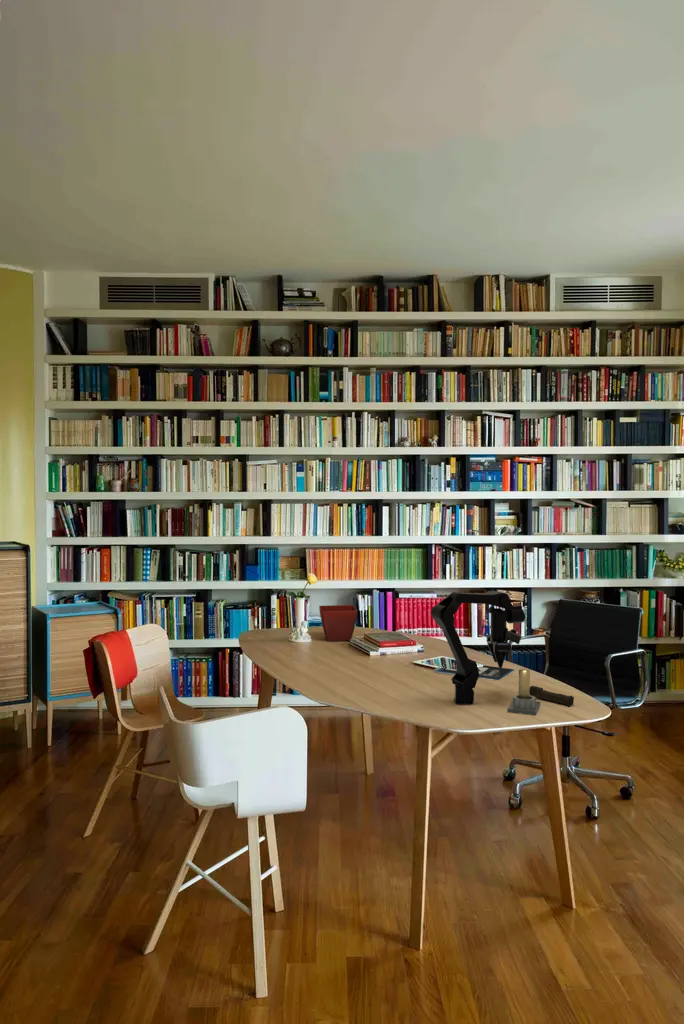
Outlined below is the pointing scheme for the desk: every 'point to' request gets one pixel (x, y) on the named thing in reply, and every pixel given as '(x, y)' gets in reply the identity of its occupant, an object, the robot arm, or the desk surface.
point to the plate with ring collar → (524, 705)
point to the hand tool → (551, 696)
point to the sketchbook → (481, 672)
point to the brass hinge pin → (524, 684)
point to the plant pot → (338, 621)
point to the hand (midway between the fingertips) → (498, 664)
